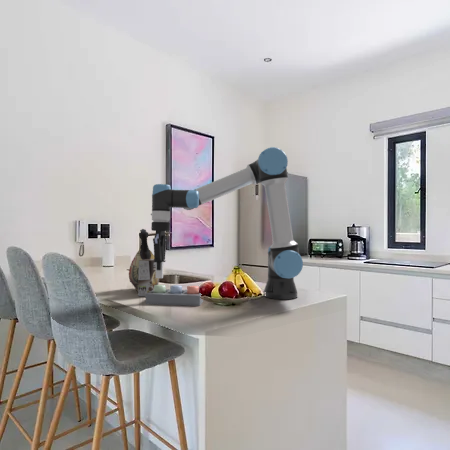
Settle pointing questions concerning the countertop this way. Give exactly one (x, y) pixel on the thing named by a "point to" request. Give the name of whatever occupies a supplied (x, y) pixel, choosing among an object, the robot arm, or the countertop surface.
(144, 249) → the ceramic jug
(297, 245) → the robot arm
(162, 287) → the button sage
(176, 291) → the button slate
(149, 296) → the panel
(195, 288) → the button coral
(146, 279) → the coffee box
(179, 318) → the countertop surface
